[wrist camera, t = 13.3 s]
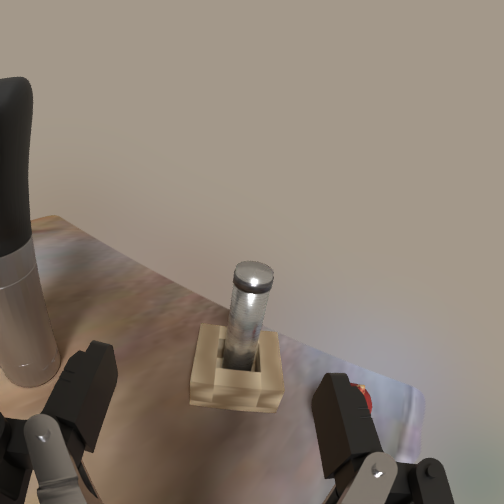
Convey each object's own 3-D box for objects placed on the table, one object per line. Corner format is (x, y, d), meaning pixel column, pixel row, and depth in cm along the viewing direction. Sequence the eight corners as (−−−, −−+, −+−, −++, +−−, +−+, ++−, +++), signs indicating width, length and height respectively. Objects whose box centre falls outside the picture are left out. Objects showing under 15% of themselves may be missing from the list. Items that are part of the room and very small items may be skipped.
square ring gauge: (189, 404, 30) (190, 381, 28) (199, 347, 39) (201, 323, 37) (275, 413, 31) (284, 390, 29) (270, 355, 40) (277, 332, 38)
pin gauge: (219, 384, 33) (234, 277, 26) (220, 362, 36) (235, 258, 30) (250, 387, 33) (276, 282, 27) (250, 365, 36) (273, 263, 30)
